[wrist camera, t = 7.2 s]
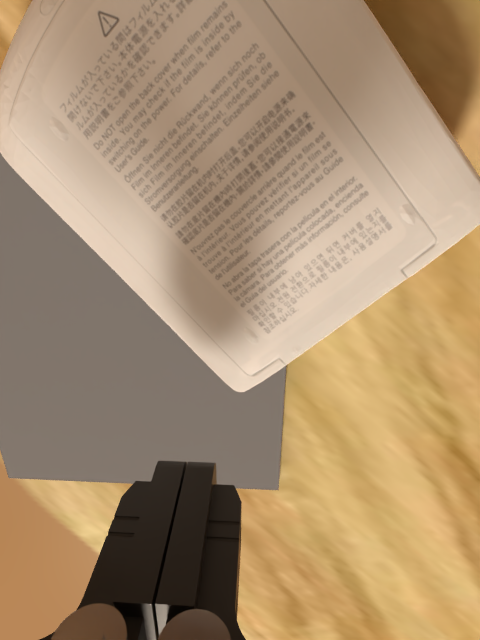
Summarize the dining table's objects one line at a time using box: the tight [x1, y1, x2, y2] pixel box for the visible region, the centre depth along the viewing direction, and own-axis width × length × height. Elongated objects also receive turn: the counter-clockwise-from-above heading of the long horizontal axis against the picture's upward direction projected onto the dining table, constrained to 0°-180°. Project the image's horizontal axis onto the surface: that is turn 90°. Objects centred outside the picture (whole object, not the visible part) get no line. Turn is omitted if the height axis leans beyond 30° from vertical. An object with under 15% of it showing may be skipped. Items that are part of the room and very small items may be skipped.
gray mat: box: [0, 153, 286, 490], centre depth 18 cm, size 14×16×1 cm
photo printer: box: [0, 0, 480, 392], centre depth 13 cm, size 10×4×12 cm
